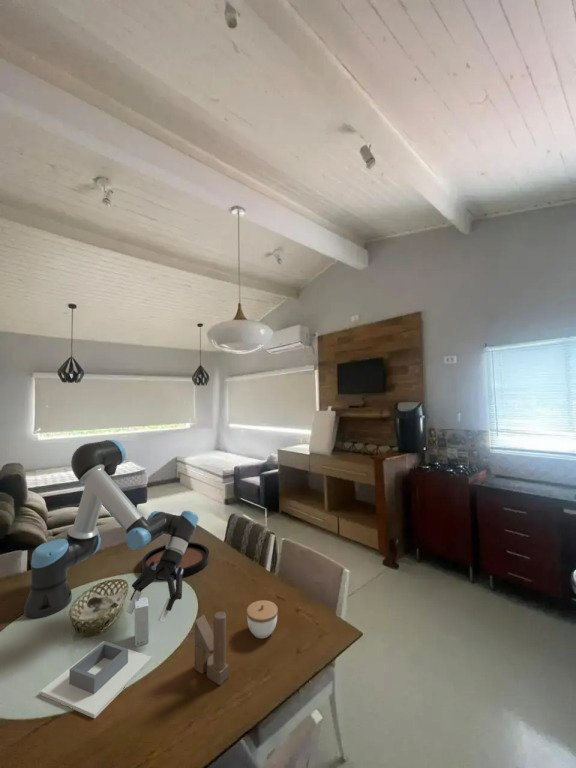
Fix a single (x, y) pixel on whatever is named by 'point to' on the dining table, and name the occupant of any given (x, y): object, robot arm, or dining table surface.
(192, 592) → the dining table surface
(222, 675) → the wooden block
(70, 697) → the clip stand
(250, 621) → the lidded jar
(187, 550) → the wall clock
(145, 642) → the skincare box
